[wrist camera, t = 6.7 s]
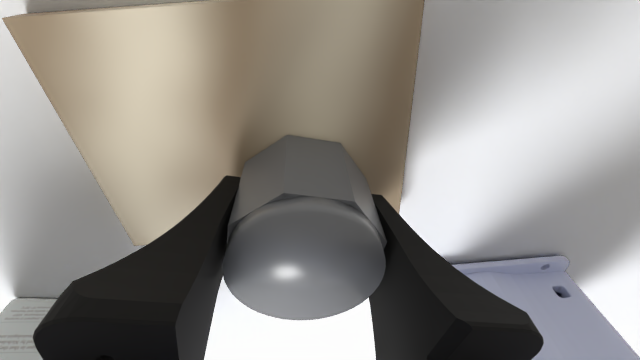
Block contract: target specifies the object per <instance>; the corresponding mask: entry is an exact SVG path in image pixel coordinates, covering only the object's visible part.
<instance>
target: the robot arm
mask: <svg viewBox="0 0 640 360" xmlns="http://www.w3.org/2000/svg"><path fill="white" fill-rule="evenodd" d="M240 179H241V177H236V176H228V175H226V176H225V177H223V179H222V180H221V181H220V183H219V184H218V185H217V186H216V187H215V188H214V190H213V191H212V192H211V193H210V194H209V195H208V196H207V197H206V198H205V199H204V200H203V201H202V202H201V203H200V204H199V205H198V206H197V207H196V208H195V209H194V210H193V211H192V212H190V213H189V214H188V215H187V216H186V217H185V218H184V219H182V220H181V221H180V222H179V223H177V224H176V225H175V226H174V227H172V228H171V229H170V230H168V231H167V232H166V233H164V234H163V235H161V236H160V237H158V238H157V239H155V240H154V241H152V242H151V243H149V244H148V245H146V246H144V247H143V248H141V249H139V250H138V251H136V252H134V253H132V254H130V255H129V256H127V257H125V258H123V259H121V260H119V261H117V262H115V263H113V264H111V265H109V266H107V267H105V268H103V269H100V270H98V271H96V272H94V273H91V274H89V275H87V276H85V277H82V278H80V279H78V280H75V281H73V282H72V283H71V284H70V285H69V287H68V288H67V289H66V290H65V291H64V292H63V293H62V294H61V295H60V297H59V298H58V299H57V300H56V302H55V303H54V304H53V306H52V307H51V308H50V310H49V311H48V313H47V314H46V315H45V317H44V318H43V320H42V321H41V322H40V324H39V325H38V327H37V328H36V329H35V331H34V334H33V341H34V344H35V347H36V349H37V351H38V352H39V354H40V355H41V357H42V359H43V360H204V356H205V351H206V346H207V341H208V336H209V331H210V326H211V322H212V317H213V312H214V307H215V303H216V298H217V294H218V290H219V286H220V283H221V280H222V277H223V260H224V256H225V252H226V248H227V234H228V223H229V220H230V216H231V212H232V209H233V205H234V201H235V197H236V194H237V190H238V187H239V183H240ZM371 195H372V198H373V201H374V204H375V207H376V210H377V213H378V216H379V219H380V222H381V225H382V228H383V231H384V234H385V237H386V240H387V243H386V246H385V248H384V250H383V251H384V254H385V259H386V268H385V273H384V276H383V279H382V281H381V283H380V284H379V286H378V287H377V289H376V290H375V291H374V292H373V293H372V294H371V295H370V296H369V301H370V307H371V315H372V322H373V331H374V341H375V351H376V360H640V357H639V356H638V355H637V354H636V353H635V352H634V350H633V349H632V348H631V347H630V346H629V345H628V343H627V342H626V341H625V340H624V339H623V338H622V336H621V335H620V334H619V333H618V332H617V331H616V330H615V328H614V327H613V326H612V325H611V324H610V323H609V321H608V320H607V319H606V318H605V317H604V316H603V315H602V313H601V312H600V311H599V310H598V309H597V308H596V306H595V305H594V304H593V303H592V302H591V301H590V299H589V298H588V297H587V296H586V295H585V294H584V293H583V291H582V290H581V289H580V288H579V287H578V286H577V284H576V283H575V282H574V281H573V280H572V279H571V277H570V276H569V275H568V274H567V273H566V272H565V271H566V269H567V267H568V266H569V263H570V262H569V260H568V259H567V258H566V257H565V256H550V257H538V258H526V259H515V260H503V261H491V262H479V263H468V264H456V265H451V264H450V263H448V262H447V261H446V260H445V259H444V258H442V257H441V256H440V255H439V254H438V253H436V252H435V251H434V250H433V249H432V248H431V247H430V246H429V245H428V244H427V243H426V242H425V241H424V240H423V239H422V238H420V237H419V236H418V235H417V233H416V232H415V231H414V230H413V229H412V228H411V227H410V226H409V225H408V224H407V223H406V222H405V221H404V220H403V218H402V217H401V216H400V215H399V214H398V213H397V212H396V210H395V209H394V208H393V207H392V206H391V205H390V204H389V202H388V201H387V200H386V199H385V198H384V197H383V196H382V195H378V194H371Z"/></svg>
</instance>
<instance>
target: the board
mask: <svg viewBox="0 0 640 360" xmlns="http://www.w3.org/2000/svg"><path fill="white" fill-rule="evenodd" d="M423 8H424V0H208V1H194V2H180V3H166V4H152V5H139V6H125V7H111V8H97V9H83V10H69V11H55V12H42V13H28V14H21V15H16V16H10V17H5V18H2V19H3V21H4V23H5V25H6V26H7V28H8V30H9V31H10V33H11V35H12V37H13V38H14V40H15V42H16V43H17V45H18V47H19V49H20V50H21V52H22V54H23V55H24V57H25V59H26V61H27V62H28V64H29V66H30V67H31V69H32V71H33V73H34V74H35V76H36V78H37V80H38V81H39V83H40V85H41V86H42V88H43V90H44V92H45V93H46V95H47V97H48V98H49V100H50V102H51V104H52V105H53V107H54V109H55V110H56V112H57V114H58V116H59V117H60V119H61V121H62V122H63V124H64V126H65V128H66V129H67V131H68V133H69V135H70V136H71V138H72V140H73V141H74V143H75V145H76V147H77V148H78V150H79V152H80V153H81V155H82V157H83V159H84V160H85V162H86V164H87V165H88V167H89V169H90V171H91V172H92V174H93V176H94V177H95V179H96V181H97V183H98V184H99V186H100V188H101V190H102V191H103V193H104V195H105V196H106V198H107V200H108V202H109V203H110V205H111V207H112V208H113V210H114V212H115V214H116V215H117V217H118V219H119V220H120V222H121V224H122V226H123V227H124V229H125V231H126V232H127V234H128V236H129V238H130V239H131V241H132V243H133V244H134V246H139V245H148V244H149V243H151V242H152V241H154V240H155V239H157V238H158V237H160V236H161V235H163V234H164V233H166V232H167V231H168V230H170V229H171V228H172V227H174V226H175V225H176V224H177V223H179V222H180V221H181V220H182V219H184V218H185V217H186V216H187V215H188V214H189V213H190V212H192V211H193V210H194V209H195V208H196V207H197V206H198V205H199V204H200V203H201V202H202V201H203V200H204V199H205V198H206V197H207V196H208V195H209V194H210V193H211V192H212V191H213V190H214V188H215V187H216V186H217V185H218V184H219V183H220V181H221V180H222V179H223V177H225V176H226V175H228V176H236V177H241V175H242V171H243V168H244V164H245V162H246V161H248V160H249V159H251V158H252V157H254V156H255V155H257V154H258V153H260V152H261V151H263V150H265V149H266V148H268V147H269V146H271V145H272V144H274V143H275V142H277V141H278V140H280V139H281V138H283V137H284V136H286V135H293V136H299V137H306V138H312V139H319V140H326V141H332V142H339V143H341V144H342V146H343V147H344V148H345V150H346V151H347V153H348V154H349V155H350V157H351V158H352V159H353V161H354V162H355V164H356V165H357V166H358V168H359V169H360V171H361V172H362V173H363V175H364V176H365V178H366V179H367V182H368V185H369V188H370V192H371V194H378V195H382V196H383V197H384V198H385V199H386V200H387V201H388V202H389V204H390V205H391V206H392V207H393V208H394V209H395V210H396V212H397V213H398V214H399V210H400V202H401V193H402V185H403V176H404V168H405V159H406V151H407V143H408V134H409V126H410V117H411V109H412V101H413V92H414V84H415V75H416V67H417V59H418V50H419V42H420V33H421V25H422V16H423Z"/></svg>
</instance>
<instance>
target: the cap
mask: <svg viewBox="0 0 640 360" xmlns="http://www.w3.org/2000/svg"><path fill="white" fill-rule="evenodd" d="M386 243H387V240H386V237H385V234H384V231H383V228H382V225H381V222H380V219H379V216H378V213H377V210H376V207H375V204H374V201H373V198H372V195H371V192H370V188H369V185H368V182H367V179H366V178H365V176H364V175H363V173H362V172H361V171H360V169H359V168H358V166H357V165H356V164H355V162H354V161H353V159H352V158H351V157H350V155H349V154H348V153H347V151H346V150H345V148H344V147H343V146H342V144H341V143H339V142H332V141H326V140H319V139H312V138H306V137H299V136H293V135H286V136H284V137H283V138H281V139H280V140H278V141H277V142H275V143H274V144H272V145H271V146H269V147H268V148H266V149H265V150H263V151H261V152H260V153H258V154H257V155H255V156H254V157H252V158H251V159H249V160H248V161H246V162H245V164H244V168H243V171H242V175H241V179H240V183H239V187H238V190H237V194H236V197H235V201H234V205H233V209H232V212H231V216H230V220H229V223H228V234H227V248H226V252H225V256H224V260H223V276H224V280H225V283H226V285H227V287H228V289H229V290H230V291H231V293H232V294H233V295H234V296H235V297H236V298H237V299H238V300H239V301H240V302H242V303H243V304H244V305H246V306H247V307H249V308H251V309H253V310H255V311H257V312H259V313H262V314H265V315H268V316H272V317H276V318H281V319H289V320H313V319H320V318H325V317H330V316H333V315H337V314H340V313H342V312H345V311H347V310H349V309H352V308H354V307H355V306H357V305H359V304H360V303H362V302H363V301H364V300H366V299H367V298H368V297H369V296H370V295H371V294H372V293H373V292H374V291H375V290H376V289H377V287H378V286H379V284H380V283H381V281H382V279H383V276H384V273H385V268H386V259H385V254H384V251H383V250H384V248H385V246H386Z"/></svg>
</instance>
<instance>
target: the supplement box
mask: <svg viewBox="0 0 640 360" xmlns="http://www.w3.org/2000/svg"><path fill="white" fill-rule="evenodd" d="M56 300H57V299H40V298H17V299H14V300H12V301H11V302H10V303H9V304H8V305H7V306H6V307H5V309H4V310H3V311H2V312H1V313H0V360H43V359H42V357H41V355H40V354H39V352H38V351H37V349H36V347H35V344H34V341H33V334H34V331H35V329H36V328H37V327H38V325H39V324H40V322H41V321H42V320H43V318H44V317H45V315H46V314H47V313H48V311H49V310H50V308H51V307H52V306H53V304H54V303H55V302H56Z"/></svg>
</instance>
